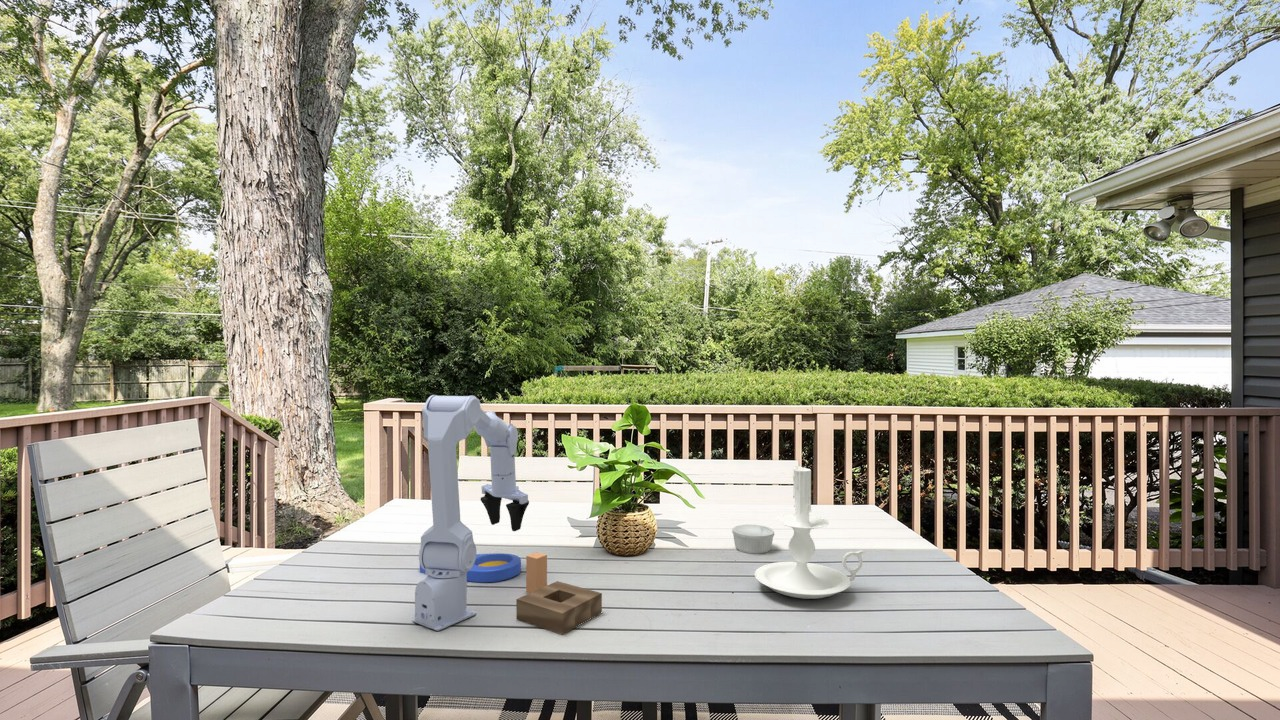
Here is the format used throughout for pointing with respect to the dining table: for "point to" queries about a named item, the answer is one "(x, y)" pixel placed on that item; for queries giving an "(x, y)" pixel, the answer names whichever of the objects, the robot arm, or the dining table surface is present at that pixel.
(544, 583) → the peg
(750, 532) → the ramekin
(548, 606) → the socket block
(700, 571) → the dining table surface
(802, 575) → the candlestick
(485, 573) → the location marker
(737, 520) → the dining table surface
